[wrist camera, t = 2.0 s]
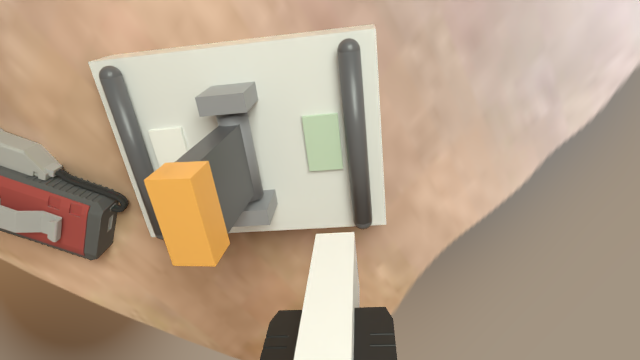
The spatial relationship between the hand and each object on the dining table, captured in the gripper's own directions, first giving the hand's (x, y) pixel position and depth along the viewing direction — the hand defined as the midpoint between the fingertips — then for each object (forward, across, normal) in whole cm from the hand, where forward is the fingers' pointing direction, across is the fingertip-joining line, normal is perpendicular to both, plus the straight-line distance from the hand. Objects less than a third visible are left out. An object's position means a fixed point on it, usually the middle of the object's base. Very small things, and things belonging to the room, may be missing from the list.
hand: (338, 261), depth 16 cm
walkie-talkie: (+17, -29, -2) cm, 33 cm away
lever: (+11, -7, 0) cm, 13 cm away
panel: (+16, -7, 0) cm, 17 cm away
